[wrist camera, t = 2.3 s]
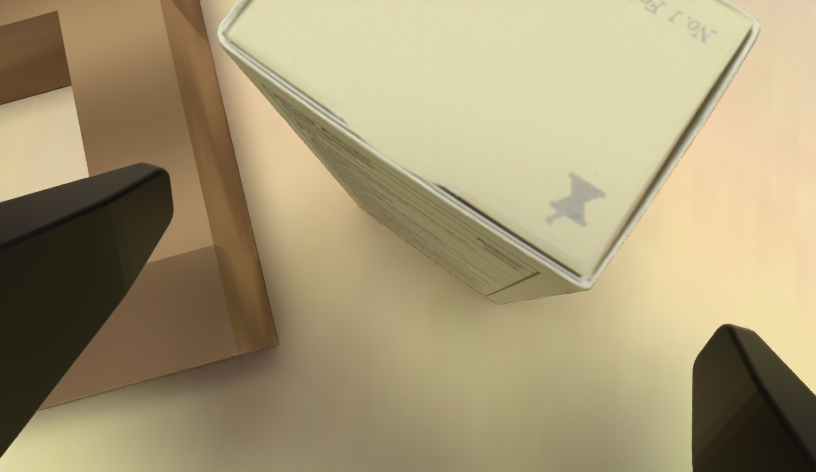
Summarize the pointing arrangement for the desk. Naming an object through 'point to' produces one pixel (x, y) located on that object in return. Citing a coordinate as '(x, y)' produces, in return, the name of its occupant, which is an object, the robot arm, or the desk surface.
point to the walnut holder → (158, 145)
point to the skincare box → (497, 117)
